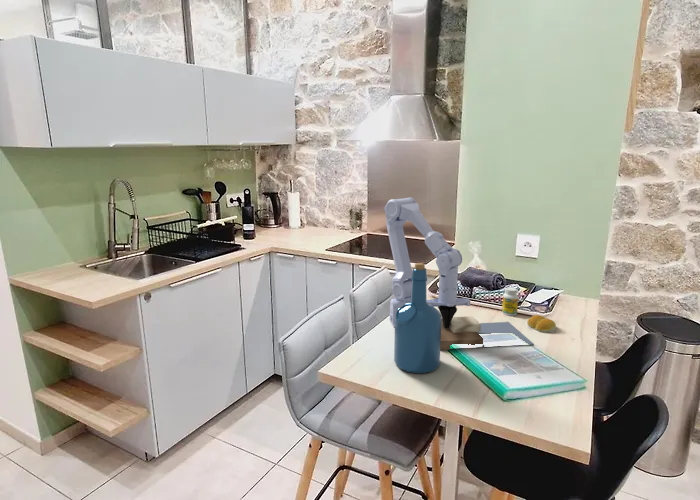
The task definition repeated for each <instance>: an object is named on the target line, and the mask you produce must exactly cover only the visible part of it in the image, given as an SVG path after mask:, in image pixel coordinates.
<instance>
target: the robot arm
mask: <svg viewBox="0 0 700 500" xmlns="http://www.w3.org/2000/svg"><path fill="white" fill-rule="evenodd" d="M384 213H385V218H386V220H385V221H386V223H385V224H386V229H387V234H388V235H387V236H388V239H389V244H390V248H391V253H392V258H393V264H394V267H395V275H394V276H393V278H392V279H391V283H392V288H391V289H392V291H391V292H392V294H393V297H394V298H391V299H390V300H389V321H390V323H391V324H392V327H394V328H395V316H396V312H397V310H398V309H399V308H400V307H401V306H403V305H405V304H407V303H410V302H411V292H412V280H411V279H412V273H413V267H412V265H411V259H410V255H409V251H408V245H407V242H406V237H405V231H404V225H405V223H407V222H411V224H412V225H413V226H414V227H415V228H416V229H417V230H418V231H419V232H420V234H421V235H422V236H423V237H424V244H425V245H426V247H427V248H428V249H429V250H430V252H431V254H432V255H434V256H435V258H436V259H435V263H436V266H437V268H438V269H437V270H438V273H439V276H438V278H439V280H438V298H432V299H427V303H428V304H430V305H431V306H433V307H434V308H436V307H437V309H438V311H439V312H440V314H441V318H442V320H443V326H444V327H445V328H449V326H450V323H451V320H452V318H453V317H455V315H456V313H457V311H458V308H457V307H460V306H461V307H463V306H466V307H470V306H471V299H469V298H464V297H463V298H461V297H460V298H459V297H457V296H458V277H459V267H460V266H461V264H462V263H463V255H462V254H461V252H460V250H459V249H457V248H453V246H451V245H450V244H449V243H448V242H447V240H446V239H445V238H444V235H443V233H440V231H435V230H434V229H433V228H432V227H431V225H430V224H429V222H428V221H427V219H426V218H425V217H424V215H423V214H422V213H423V212H421V210H420V204H419V203H417V202H416V200H415V198H413V197H409V196H408V197H406V198H396V199H394V198H392V199H389V200H388V201H387V203H386V205H384Z"/></svg>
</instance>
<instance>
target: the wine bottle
mask: <svg viewBox="0 0 700 500" xmlns="http://www.w3.org/2000/svg"><path fill="white" fill-rule="evenodd" d="M425 266H426V265H425V263H423V262H415V263H414V267H412V271H413V273H412V279H411V280H412V292H411V302H410V303H407V304H405V305H403V306H401V307H400V308H399V309H398V310H397V312H396V316H395V327H394V350H393V351H394V354H393V355H394V356H393V357H394V359H393V360H394V363H395V365H396V366H397V367H398V368H399V369H400V370H403V371H405V372H408V373H410V374H411V373H412V374H425V373H426V374H427V373H433V372H434V371H436V370H437V369H438V368H439V366H440V363H441V350H440V344H441V320H442V316H441V313H440V311H439V309H438V308H436V307H433V306H431V305H430V304H428V303H427V300H428V299H427V298H428V297H427V296H428V295H427V292H428V291H427V281H428V274H427V273H428V272H427V268H426V267H425Z"/></svg>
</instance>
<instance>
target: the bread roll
mask: <svg viewBox="0 0 700 500" xmlns="http://www.w3.org/2000/svg"><path fill="white" fill-rule="evenodd" d="M526 324H527V325H528V327H529V328H531V329H532V330H536V331H537V332H540V333H551V332H554V331H555V330H556V327H557V326H556V325H557V324H556V322H555V321H554V320H553V319H550V318H546V317H544V316H542V315H540V314H535V315H532V316H531V317H530V318H528V319H527V321H526Z"/></svg>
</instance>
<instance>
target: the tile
mask: <svg viewBox="0 0 700 500" xmlns="http://www.w3.org/2000/svg"><path fill="white" fill-rule="evenodd" d="M480 323H481V322H479V321H478V320H477V318H475V316H473V315H471V316H470V315H469V316H453V318H452V320H451V323H450V326H449V328H450V330H451V331H452V332H453V333H462V332H480V330H481V324H480Z"/></svg>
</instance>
